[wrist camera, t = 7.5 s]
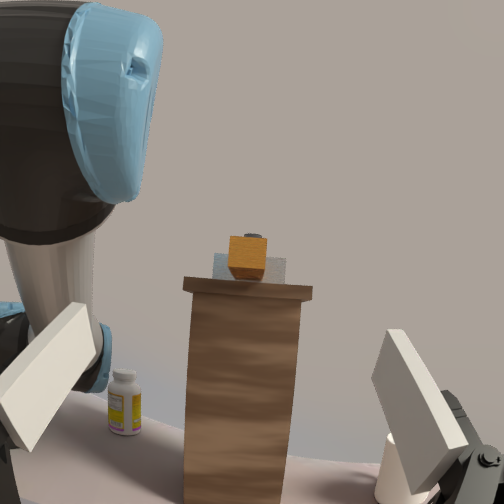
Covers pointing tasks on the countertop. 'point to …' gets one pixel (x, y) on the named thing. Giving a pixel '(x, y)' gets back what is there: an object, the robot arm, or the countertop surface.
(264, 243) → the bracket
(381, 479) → the mug
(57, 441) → the countertop surface
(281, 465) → the post
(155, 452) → the countertop surface
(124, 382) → the supplement bottle
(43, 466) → the countertop surface
